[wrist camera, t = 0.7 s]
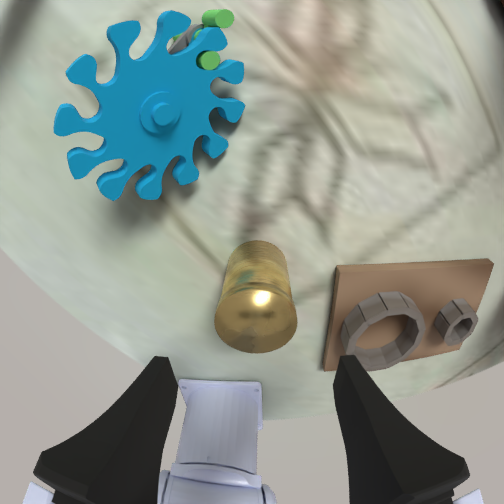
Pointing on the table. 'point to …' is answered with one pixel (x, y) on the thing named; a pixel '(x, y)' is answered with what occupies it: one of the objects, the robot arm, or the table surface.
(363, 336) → the manifold board
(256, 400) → the robot arm
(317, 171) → the table surface
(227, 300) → the brass nipple
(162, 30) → the gear
